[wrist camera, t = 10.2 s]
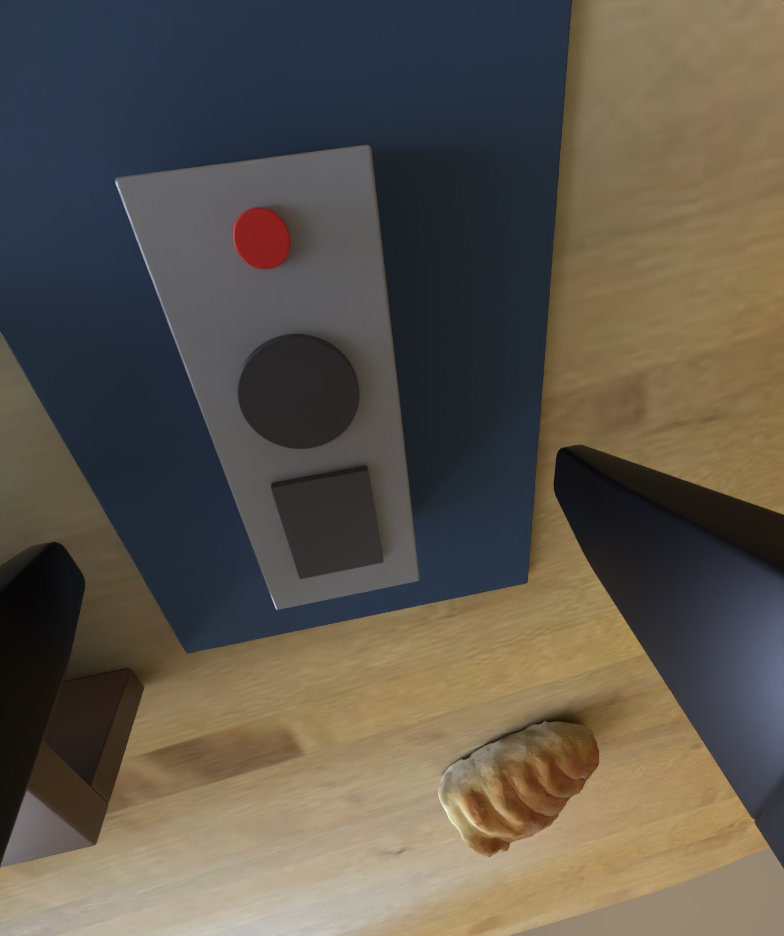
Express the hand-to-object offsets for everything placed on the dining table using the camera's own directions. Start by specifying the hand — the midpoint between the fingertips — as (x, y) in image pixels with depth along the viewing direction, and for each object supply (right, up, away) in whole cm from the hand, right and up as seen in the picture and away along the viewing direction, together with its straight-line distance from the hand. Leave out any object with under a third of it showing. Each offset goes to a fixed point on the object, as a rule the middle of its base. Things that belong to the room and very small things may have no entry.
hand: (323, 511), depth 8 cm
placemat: (-1, +3, +5) cm, 6 cm away
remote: (-1, +3, +5) cm, 6 cm away
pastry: (+8, -17, +20) cm, 27 cm away
